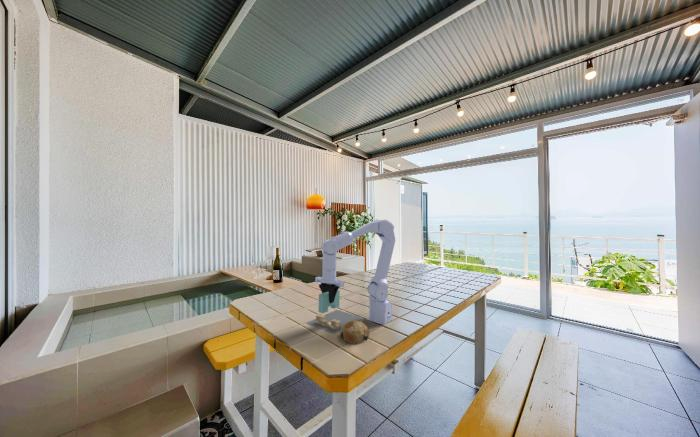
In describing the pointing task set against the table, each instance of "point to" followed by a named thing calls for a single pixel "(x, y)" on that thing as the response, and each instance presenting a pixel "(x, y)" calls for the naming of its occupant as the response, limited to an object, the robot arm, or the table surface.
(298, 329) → the table surface
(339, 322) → the birch u-shaped block
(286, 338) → the table surface
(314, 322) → the mat
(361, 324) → the bread roll
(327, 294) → the teal board
